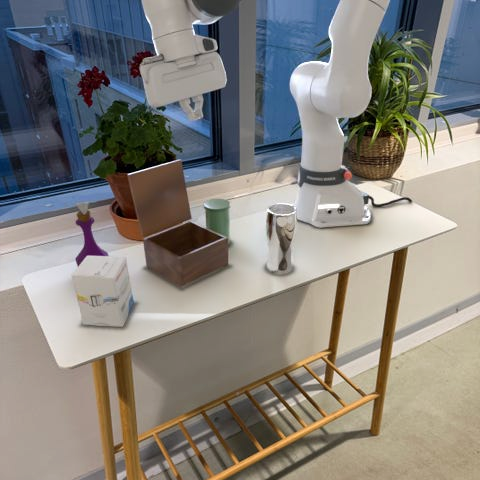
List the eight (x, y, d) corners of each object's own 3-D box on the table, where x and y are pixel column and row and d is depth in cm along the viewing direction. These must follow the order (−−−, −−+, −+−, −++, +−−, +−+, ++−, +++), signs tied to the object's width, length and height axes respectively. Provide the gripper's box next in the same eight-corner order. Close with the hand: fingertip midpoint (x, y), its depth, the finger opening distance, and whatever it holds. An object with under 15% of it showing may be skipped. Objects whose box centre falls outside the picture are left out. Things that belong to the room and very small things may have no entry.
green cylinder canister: (231, 238, 129) (230, 198, 123) (230, 249, 124) (230, 209, 117) (206, 238, 129) (204, 198, 123) (204, 249, 124) (202, 209, 117)
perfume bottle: (77, 270, 115) (61, 198, 105) (109, 264, 118) (96, 192, 107) (82, 285, 110) (65, 210, 99) (115, 278, 112) (102, 205, 102)
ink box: (96, 301, 104) (86, 253, 98) (134, 303, 104) (127, 255, 97) (81, 325, 98) (69, 275, 91) (122, 328, 97) (113, 277, 90)
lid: (181, 159, 113) (179, 159, 113) (129, 174, 105) (127, 174, 105) (191, 218, 119) (189, 218, 120) (143, 237, 111) (141, 236, 112)
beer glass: (292, 277, 113) (296, 216, 104) (262, 274, 114) (264, 214, 105) (295, 262, 118) (299, 204, 109) (267, 260, 119) (269, 202, 110)
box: (228, 266, 117) (227, 237, 112) (181, 289, 109) (179, 258, 104) (192, 248, 124) (190, 220, 120) (146, 267, 116) (142, 238, 112)
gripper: (145, 56, 94) (168, 130, 100) (221, 39, 105) (237, 106, 111) (129, 63, 98) (151, 133, 104) (203, 46, 109) (220, 110, 115)
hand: (196, 119), depth 108 cm, fingers closed
